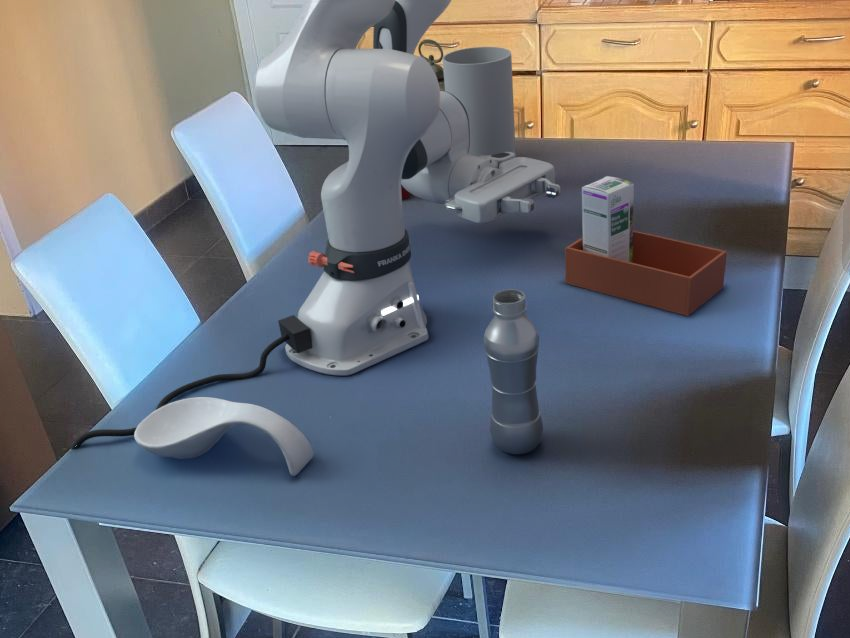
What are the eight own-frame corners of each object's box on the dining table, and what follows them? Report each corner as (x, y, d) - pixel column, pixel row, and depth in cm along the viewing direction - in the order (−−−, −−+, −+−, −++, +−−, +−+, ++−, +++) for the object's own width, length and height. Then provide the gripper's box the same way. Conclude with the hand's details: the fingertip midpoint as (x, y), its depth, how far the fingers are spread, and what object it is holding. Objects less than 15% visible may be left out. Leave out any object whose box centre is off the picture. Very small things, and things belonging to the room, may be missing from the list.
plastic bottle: (505, 467, 112) (495, 316, 99) (482, 439, 117) (470, 292, 104) (553, 451, 114) (549, 301, 101) (528, 424, 119) (522, 278, 106)
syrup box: (608, 284, 147) (610, 193, 138) (581, 274, 151) (581, 184, 142) (632, 271, 150) (635, 182, 141) (605, 262, 153) (606, 174, 144)
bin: (723, 287, 144) (727, 251, 140) (687, 316, 138) (690, 278, 134) (603, 258, 156) (603, 223, 152) (565, 283, 150) (565, 247, 146)
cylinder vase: (496, 208, 177) (488, 66, 161) (442, 199, 183) (428, 61, 167) (528, 185, 185) (523, 49, 169) (475, 178, 191) (466, 45, 175)
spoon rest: (123, 463, 119) (105, 416, 114) (178, 414, 127) (163, 369, 122) (283, 495, 111) (270, 446, 106) (330, 441, 119) (320, 393, 115)
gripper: (436, 186, 150) (504, 201, 142) (513, 148, 161) (580, 160, 154) (440, 224, 154) (506, 240, 146) (515, 184, 165) (580, 198, 158)
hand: (544, 199), depth 150 cm, fingers open, 6 cm apart
